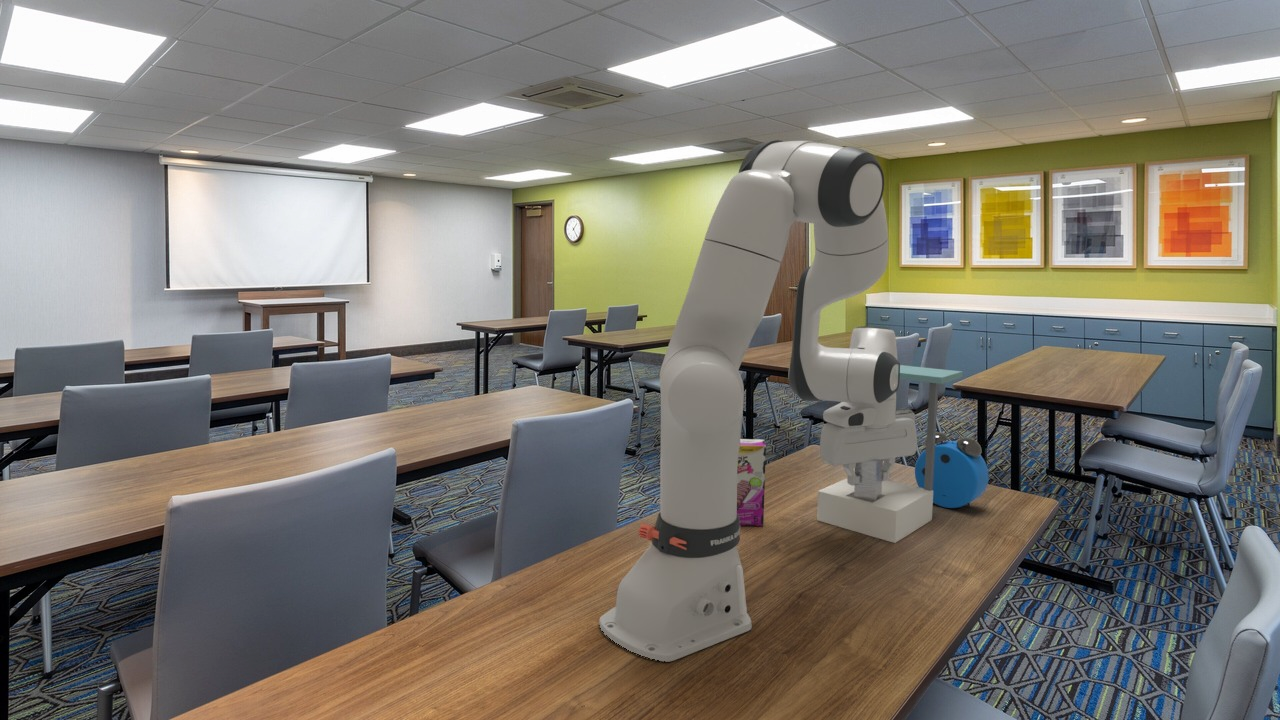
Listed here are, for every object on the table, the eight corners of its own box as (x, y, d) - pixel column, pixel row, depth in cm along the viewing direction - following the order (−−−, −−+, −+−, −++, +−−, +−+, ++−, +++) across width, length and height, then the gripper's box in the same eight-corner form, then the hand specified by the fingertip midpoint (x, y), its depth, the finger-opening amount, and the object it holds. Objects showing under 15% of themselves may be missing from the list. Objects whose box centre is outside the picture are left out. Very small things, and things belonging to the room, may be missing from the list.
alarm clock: (987, 509, 140) (992, 438, 138) (974, 517, 136) (979, 443, 134) (925, 493, 150) (929, 427, 148) (911, 500, 146) (915, 432, 144)
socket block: (905, 546, 122) (913, 385, 118) (808, 517, 137) (812, 373, 133) (954, 514, 138) (962, 371, 134) (861, 491, 152) (867, 361, 148)
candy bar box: (706, 525, 133) (707, 443, 130) (706, 516, 138) (707, 437, 135) (764, 527, 132) (766, 444, 129) (762, 518, 137) (764, 438, 134)
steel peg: (875, 507, 129) (876, 461, 127) (853, 503, 131) (855, 458, 130) (881, 501, 132) (882, 456, 131) (860, 498, 134) (861, 453, 133)
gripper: (903, 403, 135) (900, 471, 137) (815, 412, 128) (814, 483, 130) (926, 409, 130) (923, 480, 132) (836, 419, 123) (834, 493, 124)
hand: (868, 482), depth 131 cm, fingers closed on steel peg, 6 cm apart
